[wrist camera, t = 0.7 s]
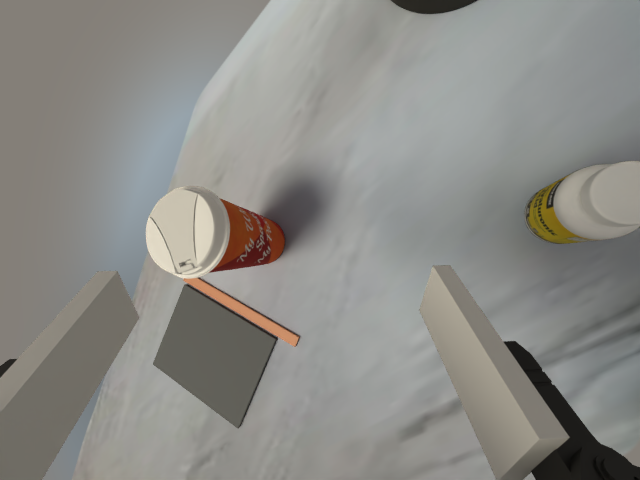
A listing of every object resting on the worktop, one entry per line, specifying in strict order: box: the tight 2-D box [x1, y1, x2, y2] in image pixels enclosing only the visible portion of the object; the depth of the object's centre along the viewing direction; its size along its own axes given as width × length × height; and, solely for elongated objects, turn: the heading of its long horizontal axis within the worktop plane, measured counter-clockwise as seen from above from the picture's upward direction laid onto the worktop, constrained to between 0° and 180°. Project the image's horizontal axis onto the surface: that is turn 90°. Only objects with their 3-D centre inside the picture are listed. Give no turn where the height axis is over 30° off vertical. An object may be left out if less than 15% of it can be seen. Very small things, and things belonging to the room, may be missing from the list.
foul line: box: [184, 278, 300, 347], centre depth 36 cm, size 1×18×1 cm, turn 66°
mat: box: [153, 284, 277, 428], centre depth 37 cm, size 12×15×1 cm
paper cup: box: [146, 186, 285, 279], centre depth 29 cm, size 8×8×14 cm
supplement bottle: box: [524, 161, 640, 244], centre depth 22 cm, size 5×5×10 cm
